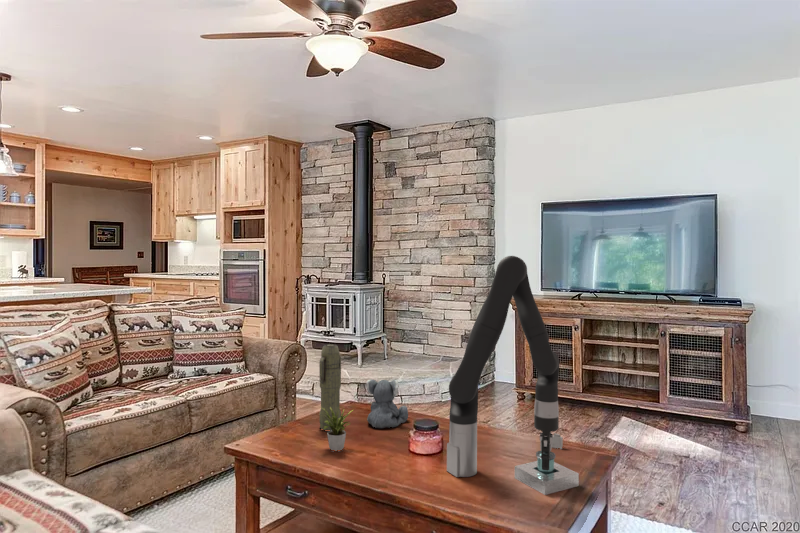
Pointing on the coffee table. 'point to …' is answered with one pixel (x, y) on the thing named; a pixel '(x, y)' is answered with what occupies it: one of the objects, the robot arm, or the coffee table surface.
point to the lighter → (557, 441)
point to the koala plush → (385, 404)
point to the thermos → (330, 383)
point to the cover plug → (551, 462)
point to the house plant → (336, 430)
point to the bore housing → (547, 478)
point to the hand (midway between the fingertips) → (545, 465)
